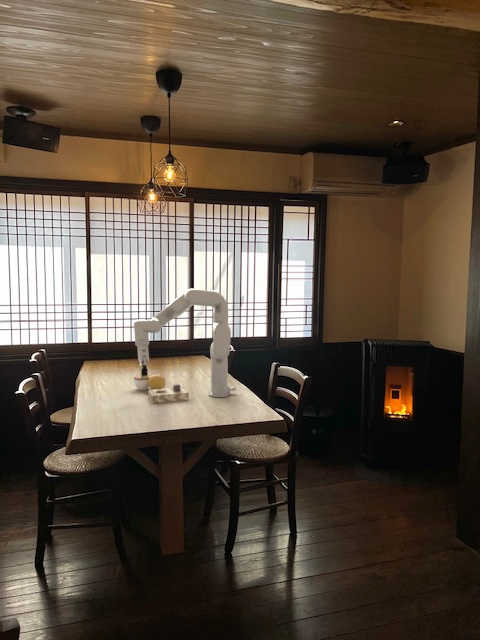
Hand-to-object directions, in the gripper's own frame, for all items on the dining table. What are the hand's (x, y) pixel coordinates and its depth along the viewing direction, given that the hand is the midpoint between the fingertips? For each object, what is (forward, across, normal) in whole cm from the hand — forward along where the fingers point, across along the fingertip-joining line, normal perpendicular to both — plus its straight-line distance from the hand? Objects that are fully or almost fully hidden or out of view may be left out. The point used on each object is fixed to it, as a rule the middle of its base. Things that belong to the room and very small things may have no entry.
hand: (144, 374), depth 262 cm
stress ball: (+14, +13, -9) cm, 21 cm away
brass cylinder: (+2, 0, 0) cm, 2 cm away
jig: (+14, -5, -12) cm, 19 cm away
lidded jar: (+14, +21, -2) cm, 25 cm away
